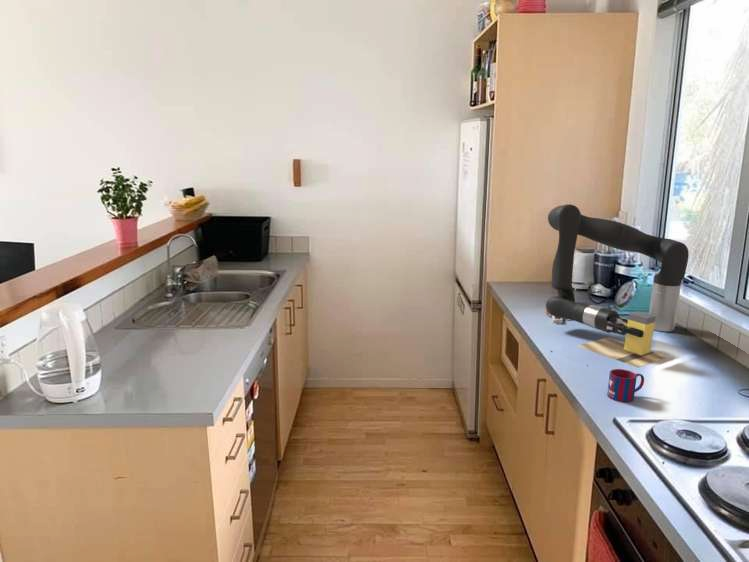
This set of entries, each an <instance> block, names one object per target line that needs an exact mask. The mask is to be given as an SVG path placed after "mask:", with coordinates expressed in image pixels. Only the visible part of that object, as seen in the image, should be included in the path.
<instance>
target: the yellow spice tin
mask: <svg viewBox="0 0 749 562" xmlns="http://www.w3.org/2000/svg"><path fill="white" fill-rule="evenodd" d="M655 318H656V316H654V315H650V314H649V313H647V312H642V311H632V312H630V313H628V316H627V319H628V323H627V326H630V327H632V328H636V329H639V330H643V332H644V333H643V337H641V338H640V337H637V336H634V335H627V334H625V339H624V342H625V345H624V349H625V350H628V351H631V352H633V353H636V354H639V355H643V354H646V353H650V351H652V350H651V349H652V343H653V337H654V332H653V331H655V330H654V324H655Z"/></svg>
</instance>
